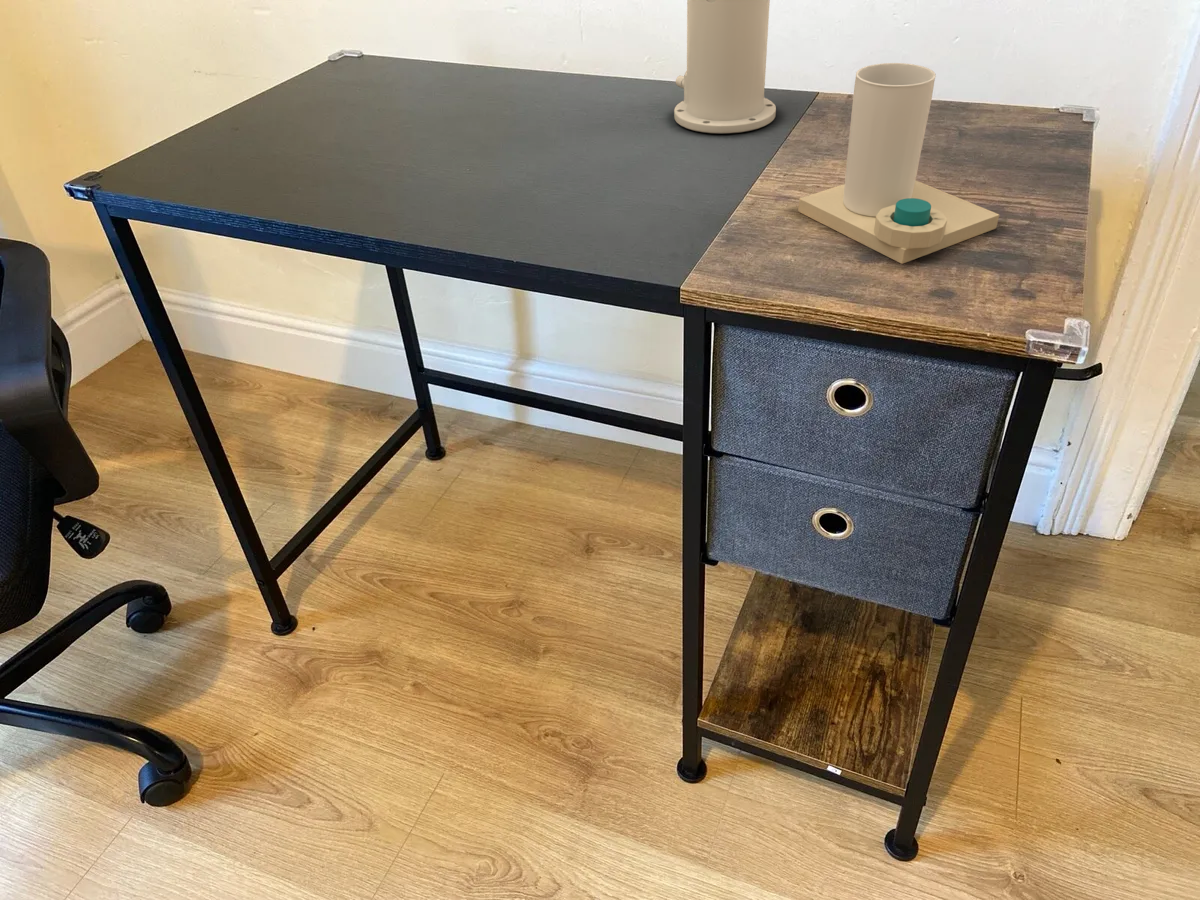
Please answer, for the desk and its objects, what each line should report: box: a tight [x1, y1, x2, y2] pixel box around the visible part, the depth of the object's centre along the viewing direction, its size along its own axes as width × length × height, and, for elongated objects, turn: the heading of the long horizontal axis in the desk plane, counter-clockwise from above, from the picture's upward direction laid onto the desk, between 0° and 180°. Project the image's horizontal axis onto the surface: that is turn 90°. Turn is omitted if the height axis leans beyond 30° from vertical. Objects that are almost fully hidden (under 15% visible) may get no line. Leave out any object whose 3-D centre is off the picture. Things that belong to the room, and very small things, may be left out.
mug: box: [843, 62, 937, 217], centre depth 82 cm, size 10×7×12 cm, turn 149°
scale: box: [797, 180, 1000, 265], centre depth 83 cm, size 15×12×3 cm
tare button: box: [893, 198, 931, 227], centre depth 78 cm, size 3×3×2 cm
